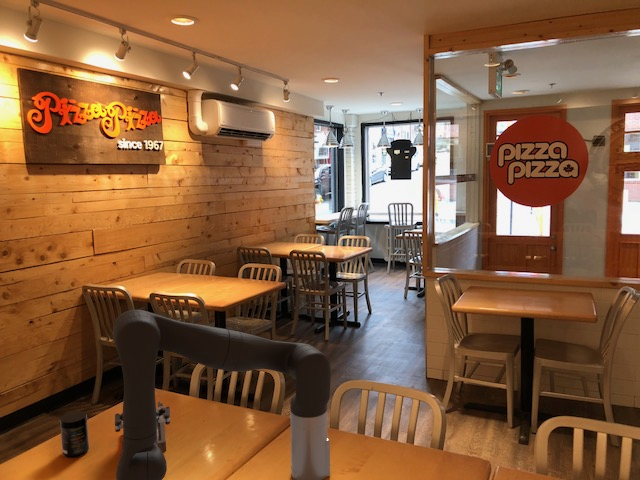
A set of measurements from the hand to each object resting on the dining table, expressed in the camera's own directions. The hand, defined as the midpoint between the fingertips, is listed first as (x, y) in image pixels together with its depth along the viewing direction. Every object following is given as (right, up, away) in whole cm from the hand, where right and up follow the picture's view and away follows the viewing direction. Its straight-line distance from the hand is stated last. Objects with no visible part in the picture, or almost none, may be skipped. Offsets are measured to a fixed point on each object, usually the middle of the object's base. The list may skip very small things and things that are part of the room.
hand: (143, 407), depth 147 cm
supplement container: (-18, -12, -3) cm, 21 cm away
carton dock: (-1, -11, +3) cm, 11 cm away
